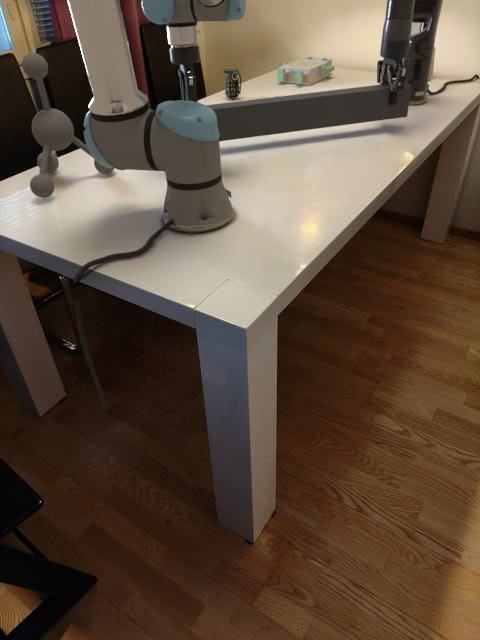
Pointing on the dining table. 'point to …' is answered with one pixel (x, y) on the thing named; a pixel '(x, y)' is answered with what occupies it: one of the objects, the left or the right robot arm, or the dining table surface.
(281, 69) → the decorative block
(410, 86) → the bar
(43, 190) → the molecular model
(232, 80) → the grenade
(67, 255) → the dining table surface
